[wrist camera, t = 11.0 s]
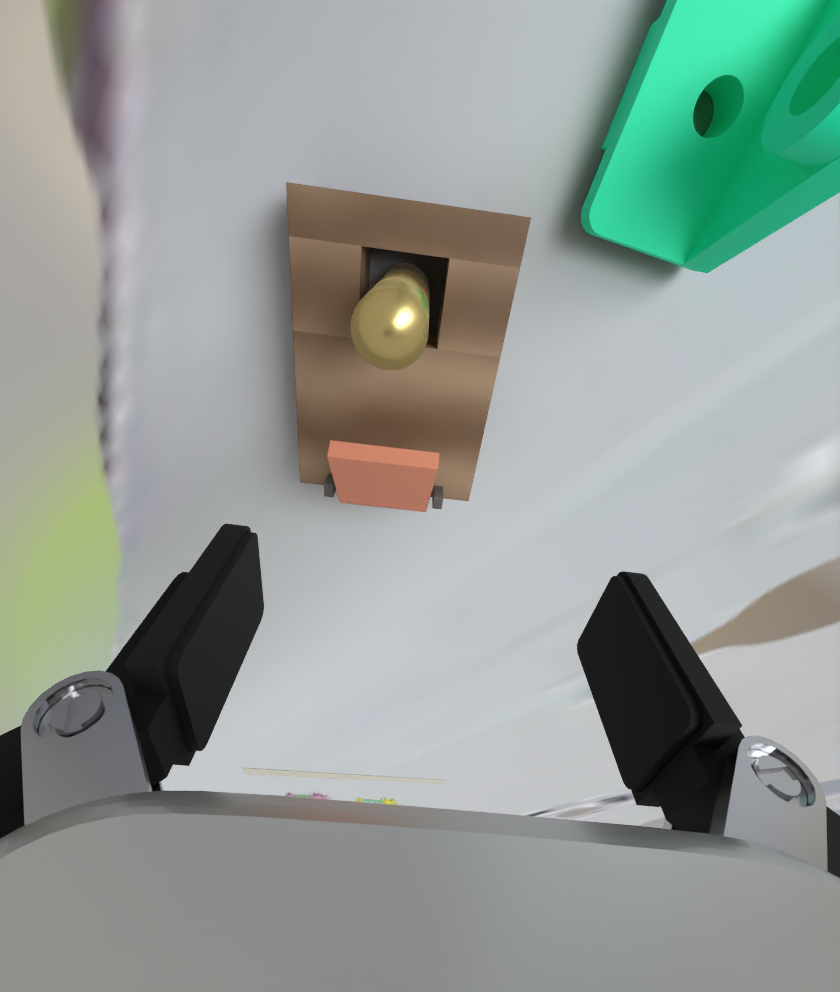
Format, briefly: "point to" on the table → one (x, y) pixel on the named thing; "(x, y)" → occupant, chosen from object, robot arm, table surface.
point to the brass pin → (393, 319)
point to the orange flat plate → (382, 475)
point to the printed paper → (336, 776)
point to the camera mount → (722, 130)
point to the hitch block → (448, 354)
